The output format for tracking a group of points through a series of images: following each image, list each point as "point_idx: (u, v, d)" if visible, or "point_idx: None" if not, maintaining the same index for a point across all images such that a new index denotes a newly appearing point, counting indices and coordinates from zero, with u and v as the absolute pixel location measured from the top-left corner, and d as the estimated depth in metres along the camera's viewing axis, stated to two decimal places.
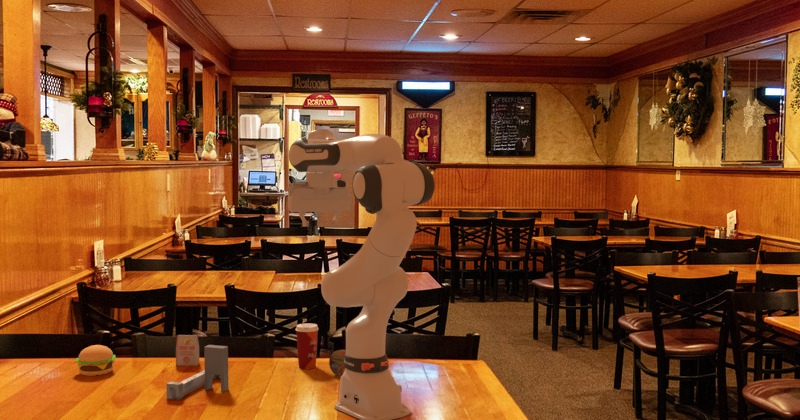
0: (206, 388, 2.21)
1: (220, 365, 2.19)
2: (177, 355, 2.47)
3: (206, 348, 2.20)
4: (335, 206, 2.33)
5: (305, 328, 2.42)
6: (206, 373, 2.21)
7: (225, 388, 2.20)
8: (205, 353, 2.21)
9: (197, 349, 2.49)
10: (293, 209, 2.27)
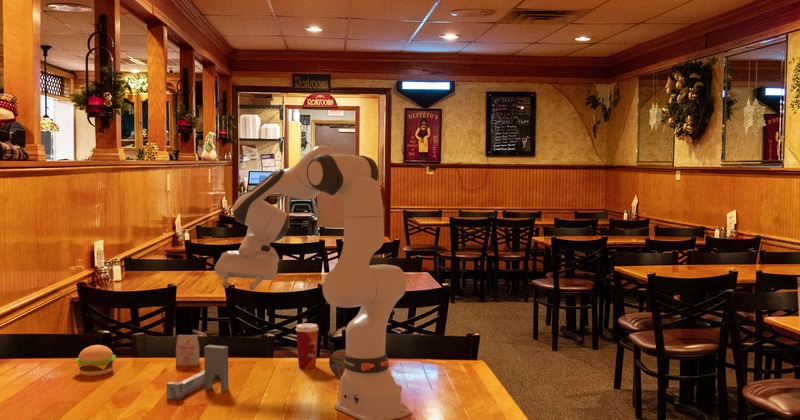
0: (206, 388, 2.21)
1: (220, 365, 2.19)
2: (177, 355, 2.47)
3: (206, 348, 2.20)
4: (255, 269, 2.33)
5: (305, 328, 2.42)
6: (206, 373, 2.21)
7: (225, 388, 2.20)
8: (205, 353, 2.21)
9: (197, 349, 2.49)
10: (215, 268, 2.37)
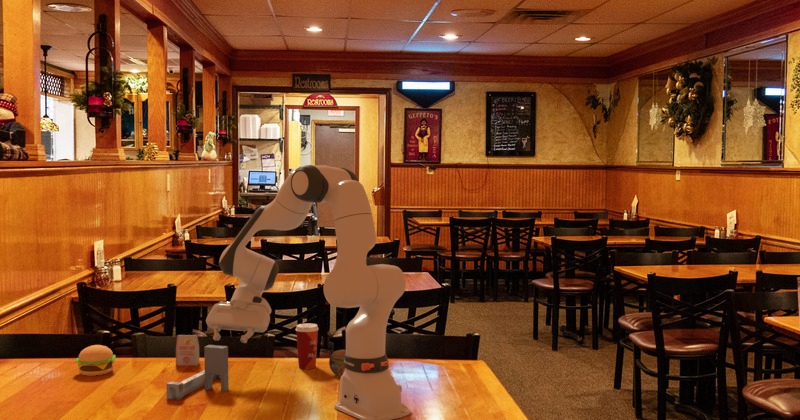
0: (206, 388, 2.21)
1: (220, 365, 2.19)
2: (177, 355, 2.47)
3: (206, 348, 2.20)
4: (247, 321, 2.30)
5: (305, 328, 2.42)
6: (206, 373, 2.21)
7: (225, 388, 2.20)
8: (205, 353, 2.21)
9: (197, 349, 2.49)
10: (206, 320, 2.33)
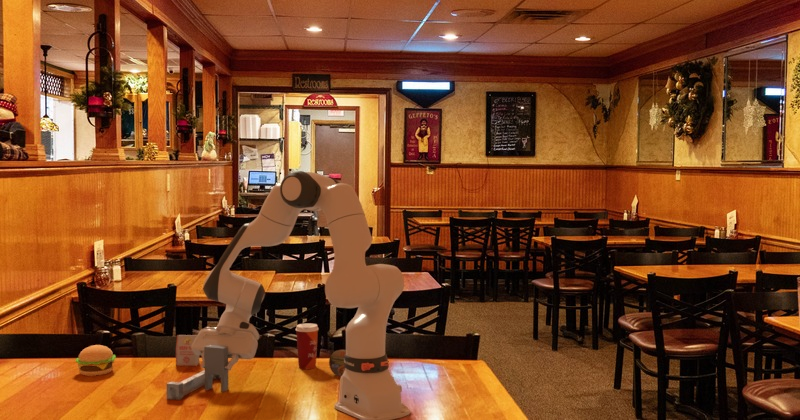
0: (206, 388, 2.21)
1: (220, 365, 2.19)
2: (177, 355, 2.47)
3: (206, 348, 2.20)
4: (234, 348, 2.22)
5: (305, 328, 2.42)
6: (206, 373, 2.21)
7: (225, 388, 2.20)
8: (205, 353, 2.21)
9: None
10: (192, 347, 2.26)
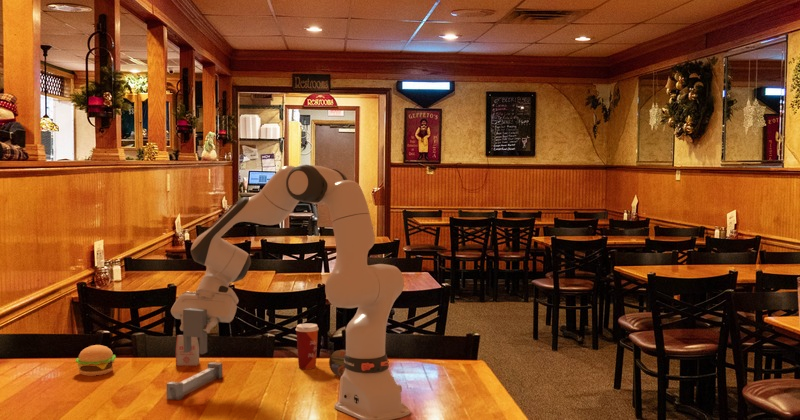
0: (185, 351, 2.22)
1: (199, 328, 2.21)
2: (177, 355, 2.47)
3: (185, 311, 2.22)
4: (212, 311, 2.23)
5: (305, 328, 2.42)
6: (185, 336, 2.22)
7: (204, 351, 2.22)
8: (184, 316, 2.22)
9: (197, 349, 2.49)
10: (171, 310, 2.27)
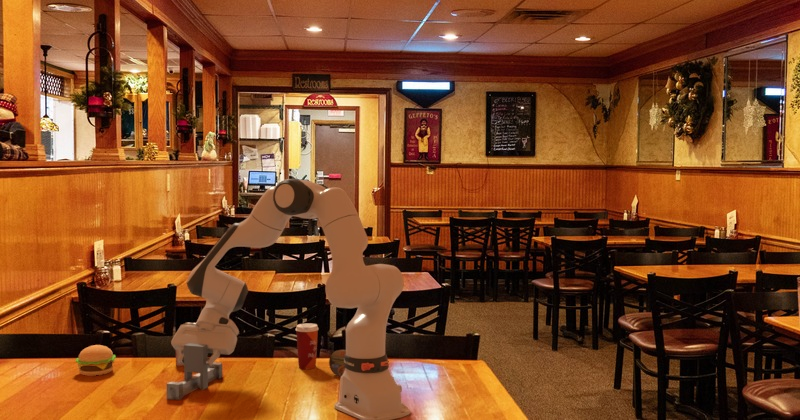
0: None
1: (199, 364, 2.21)
2: (177, 355, 2.47)
3: (186, 346, 2.22)
4: (213, 343, 2.24)
5: (305, 328, 2.42)
6: (186, 371, 2.23)
7: (204, 386, 2.22)
8: (185, 351, 2.22)
9: None
10: (172, 342, 2.27)
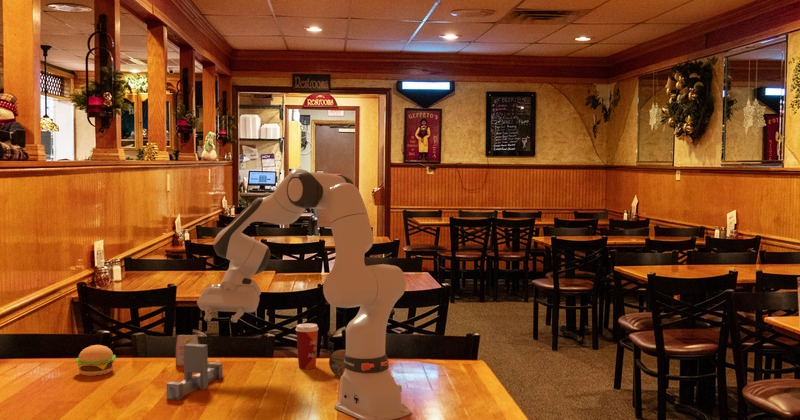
0: None
1: (199, 364, 2.21)
2: (177, 355, 2.47)
3: (186, 346, 2.22)
4: (237, 301, 2.36)
5: (305, 328, 2.42)
6: (186, 371, 2.23)
7: (204, 386, 2.22)
8: (185, 351, 2.22)
9: None
10: (198, 302, 2.40)
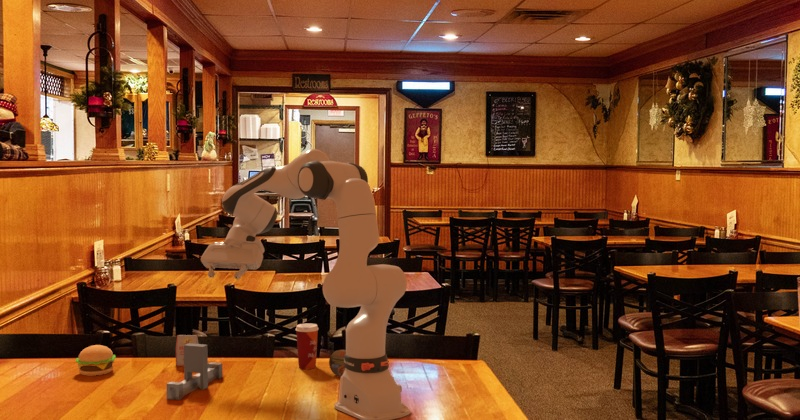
0: None
1: (199, 364, 2.21)
2: (177, 355, 2.47)
3: (186, 346, 2.22)
4: (241, 258, 2.37)
5: (305, 328, 2.42)
6: (186, 371, 2.23)
7: (204, 386, 2.22)
8: (185, 351, 2.22)
9: None
10: (201, 258, 2.40)
